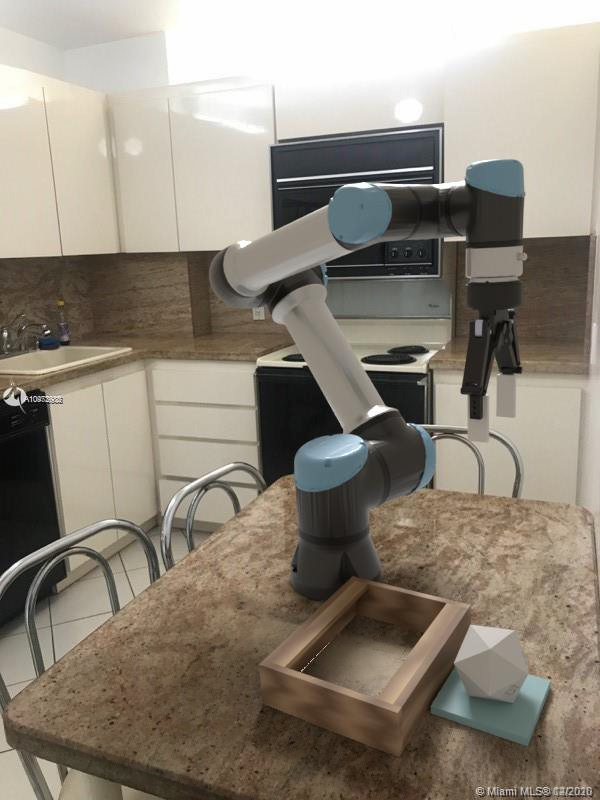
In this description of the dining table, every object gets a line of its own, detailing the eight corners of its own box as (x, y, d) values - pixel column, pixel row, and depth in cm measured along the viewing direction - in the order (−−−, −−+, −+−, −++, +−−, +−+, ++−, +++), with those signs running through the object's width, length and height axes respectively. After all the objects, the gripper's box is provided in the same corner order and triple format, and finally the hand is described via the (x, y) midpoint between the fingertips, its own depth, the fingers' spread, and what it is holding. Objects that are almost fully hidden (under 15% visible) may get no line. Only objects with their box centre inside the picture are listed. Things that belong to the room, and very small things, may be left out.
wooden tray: (262, 704, 81) (259, 664, 79) (354, 609, 100) (352, 576, 99) (399, 757, 71) (397, 713, 70) (470, 641, 91) (470, 604, 89)
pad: (431, 713, 77) (430, 706, 77) (462, 661, 86) (462, 655, 86) (527, 746, 71) (527, 738, 71) (550, 687, 80) (550, 680, 80)
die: (498, 733, 73) (548, 663, 72) (433, 680, 76) (480, 612, 75) (501, 710, 81) (546, 646, 80) (441, 663, 84) (485, 601, 83)
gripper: (494, 286, 79) (493, 456, 83) (543, 272, 99) (540, 409, 104) (434, 287, 83) (436, 449, 87) (493, 273, 103) (492, 406, 108)
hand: (492, 428), depth 96 cm, fingers open, 13 cm apart
